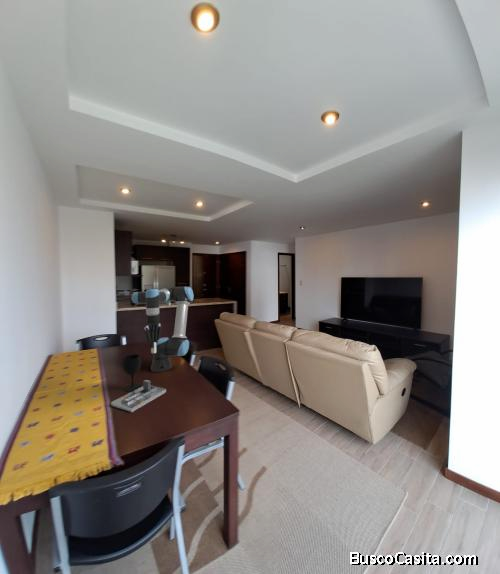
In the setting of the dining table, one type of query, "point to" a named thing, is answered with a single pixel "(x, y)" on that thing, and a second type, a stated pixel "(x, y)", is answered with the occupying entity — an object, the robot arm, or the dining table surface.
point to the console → (137, 398)
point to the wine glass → (132, 370)
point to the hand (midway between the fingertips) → (153, 352)
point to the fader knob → (146, 385)
